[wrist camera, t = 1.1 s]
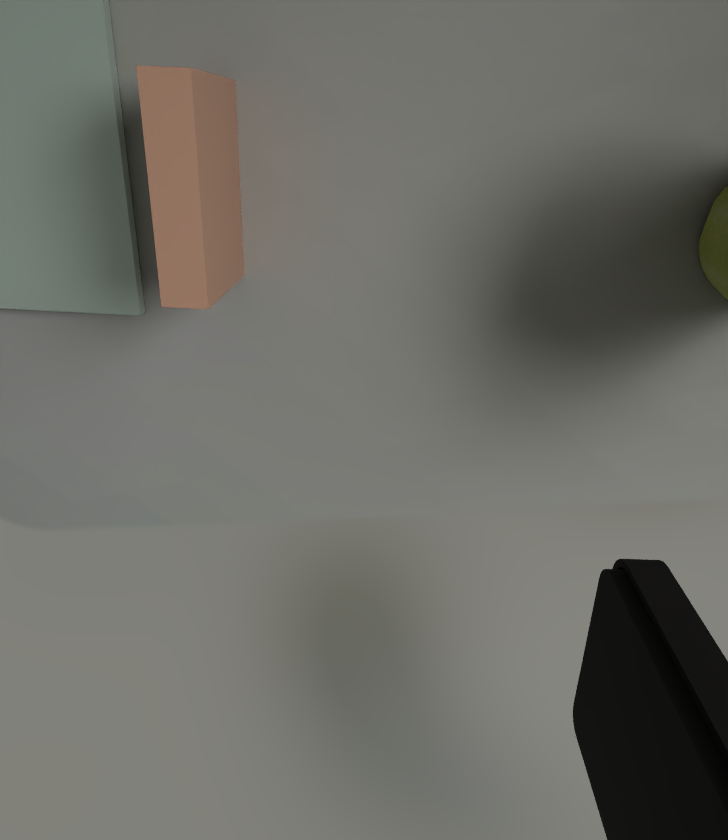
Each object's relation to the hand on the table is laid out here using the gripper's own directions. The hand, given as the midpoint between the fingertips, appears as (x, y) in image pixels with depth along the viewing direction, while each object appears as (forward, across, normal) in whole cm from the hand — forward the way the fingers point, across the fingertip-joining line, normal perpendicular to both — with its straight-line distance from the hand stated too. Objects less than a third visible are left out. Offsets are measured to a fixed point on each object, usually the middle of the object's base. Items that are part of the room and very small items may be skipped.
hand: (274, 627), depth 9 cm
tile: (+22, +6, -5) cm, 23 cm away
